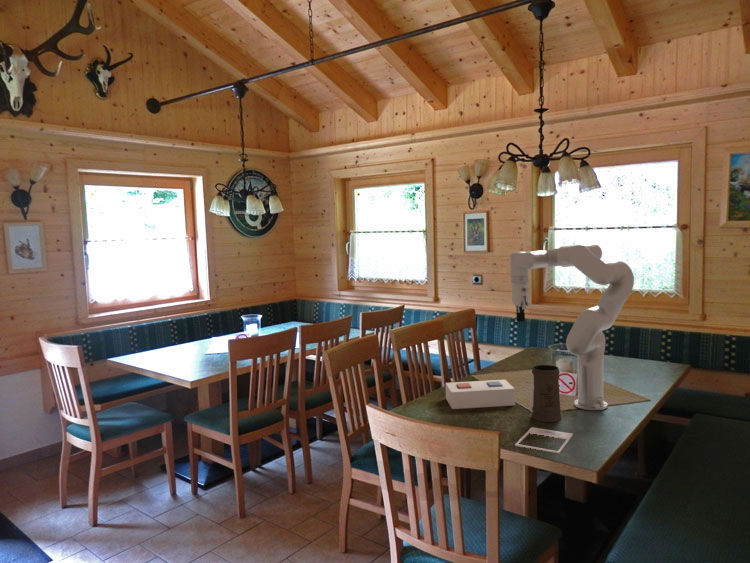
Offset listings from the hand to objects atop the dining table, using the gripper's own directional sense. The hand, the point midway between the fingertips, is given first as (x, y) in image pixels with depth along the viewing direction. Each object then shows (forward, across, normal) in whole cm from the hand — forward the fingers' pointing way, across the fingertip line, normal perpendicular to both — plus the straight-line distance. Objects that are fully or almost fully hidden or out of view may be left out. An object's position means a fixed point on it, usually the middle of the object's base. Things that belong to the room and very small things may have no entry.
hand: (520, 321), depth 248 cm
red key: (+27, -12, +29) cm, 42 cm away
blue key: (+27, -13, +16) cm, 34 cm away
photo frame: (+32, -58, +12) cm, 67 cm away
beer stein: (+32, -34, +4) cm, 46 cm away
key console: (+31, -12, +23) cm, 40 cm away
